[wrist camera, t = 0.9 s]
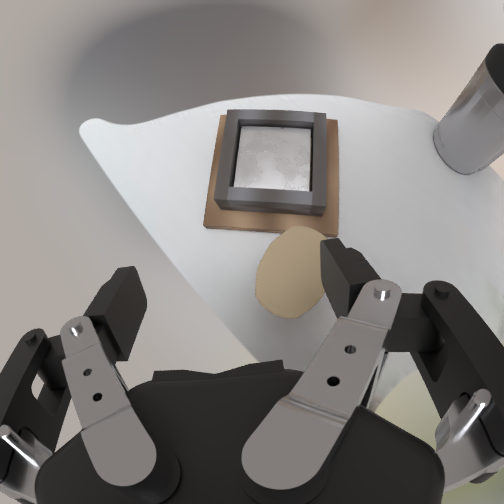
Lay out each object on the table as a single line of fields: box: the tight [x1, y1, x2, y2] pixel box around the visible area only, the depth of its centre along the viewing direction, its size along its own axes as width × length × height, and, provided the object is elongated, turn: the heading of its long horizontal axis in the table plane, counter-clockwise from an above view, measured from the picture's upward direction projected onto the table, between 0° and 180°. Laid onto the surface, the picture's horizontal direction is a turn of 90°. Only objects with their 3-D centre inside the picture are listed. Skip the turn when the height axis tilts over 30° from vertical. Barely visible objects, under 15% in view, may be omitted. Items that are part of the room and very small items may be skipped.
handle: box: [255, 226, 327, 318], centre depth 27 cm, size 5×6×15 cm
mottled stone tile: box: [234, 126, 311, 191], centre depth 33 cm, size 8×8×1 cm
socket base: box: [203, 110, 339, 237], centre depth 35 cm, size 16×16×6 cm
